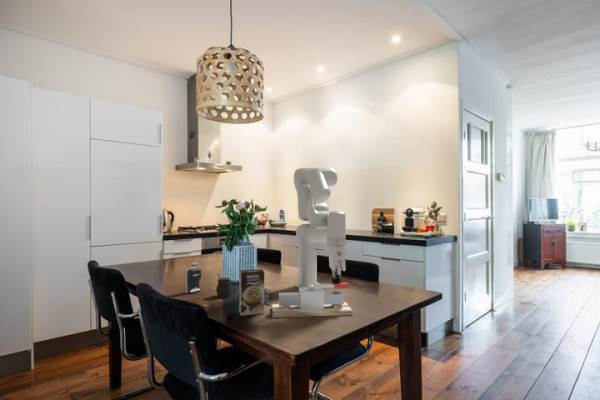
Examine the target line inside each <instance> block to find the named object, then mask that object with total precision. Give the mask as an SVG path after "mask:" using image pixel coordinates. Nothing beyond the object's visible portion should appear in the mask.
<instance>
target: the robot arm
mask: <svg viewBox="0 0 600 400" xmlns="http://www.w3.org/2000/svg"><path fill="white" fill-rule="evenodd" d="M337 173H338V172H336V170H335V169H334V168H330V167H300V168H297V169H296V170H295V171H294V173H293V182H294V183H293V184H294V187H295V191H296V193H297V195H296V196H297V213H298V218H299V220H300V221H303V222H308V223H303V224H299V225H298V226H296V228H295V234H296V235H295V236H296V241H297V282H295V283H294V286H295V287H296V288H297V289H299V288H302V287H308V284H321V283H320V282H318V274H317V273H318V271H317V270H318V269H317V268H318V267H317V265H318V264H317V262H318V259H317V255H318V252H317V249H316V248H315V246H314V245H313V243H326V246H327V247H329V248H328V249H329V250H328V252H329V253H328V263H329V264H328V265H329V268H330V269H331V275H332V278H331V280H332V281H331V284H334V283H342V280H341V279H342V271H343V272H345V271H346V252H345V247H346V246H347V244H346V242H347V241H346V240H347V239H346V232H347V231H346V213H345V211H338V210H329V207H328V205H327V204H326V203H325V201H327V200H329V198H330V196H331V190H330V187H333V186H335V185H336V184H337V183H338V174H337Z"/></svg>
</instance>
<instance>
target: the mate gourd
mask: <svg viewBox="0 0 600 400" xmlns="http://www.w3.org/2000/svg"><path fill="white" fill-rule="evenodd" d="M217 276H218V278H217V285H216V288H215V291H216V295H217V296H218V297H220V298H228V297H230V296H231V294H232V292H233V287H232V284H231V277H228V276H227V277H221V276H220V274H219V273H217Z"/></svg>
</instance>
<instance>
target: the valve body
mask: <svg viewBox="0 0 600 400" xmlns="http://www.w3.org/2000/svg"><path fill="white" fill-rule="evenodd" d="M344 302H345V293H344V292H343V291H341V290H339V291H337V290H336V291H335V290H333V291H325V290H324V288H314V289H308V287H302V288H298V291H297V292H294V291H293V292H292V291H291V292H278V304H279V306H297V305H299V307H300V311H302V310H324V305H332V304H344Z"/></svg>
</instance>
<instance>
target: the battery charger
mask: <svg viewBox="0 0 600 400" xmlns="http://www.w3.org/2000/svg"><path fill="white" fill-rule="evenodd" d="M201 279H202V270H201V268H199V267H191V268H188V269H186V270H185V294H195V293H198V292H200V291H201V288H200V287H201V286H200V280H201Z"/></svg>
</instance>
